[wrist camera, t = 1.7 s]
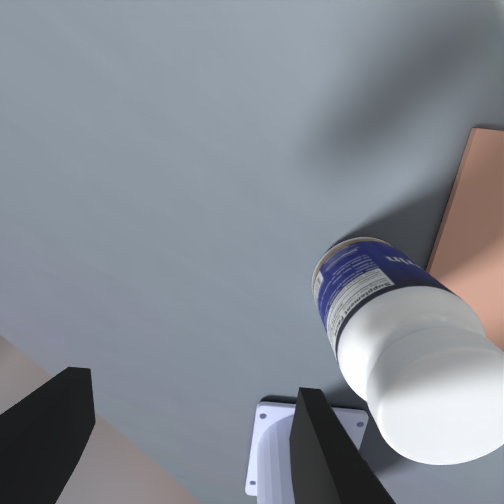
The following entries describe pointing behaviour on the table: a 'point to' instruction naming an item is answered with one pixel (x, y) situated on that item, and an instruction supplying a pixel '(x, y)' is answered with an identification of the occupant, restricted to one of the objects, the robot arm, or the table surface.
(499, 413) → the pill bottle
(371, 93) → the table surface
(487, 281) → the mat
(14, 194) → the table surface
